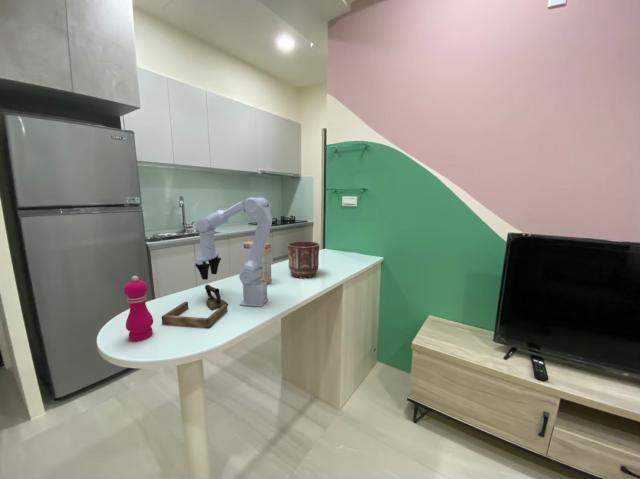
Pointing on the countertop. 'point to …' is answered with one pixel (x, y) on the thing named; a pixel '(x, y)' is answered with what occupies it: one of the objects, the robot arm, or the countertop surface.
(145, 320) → the pepper mill
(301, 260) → the pottery
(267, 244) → the cracker box
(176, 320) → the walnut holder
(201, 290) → the countertop surface
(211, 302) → the clothes iron
